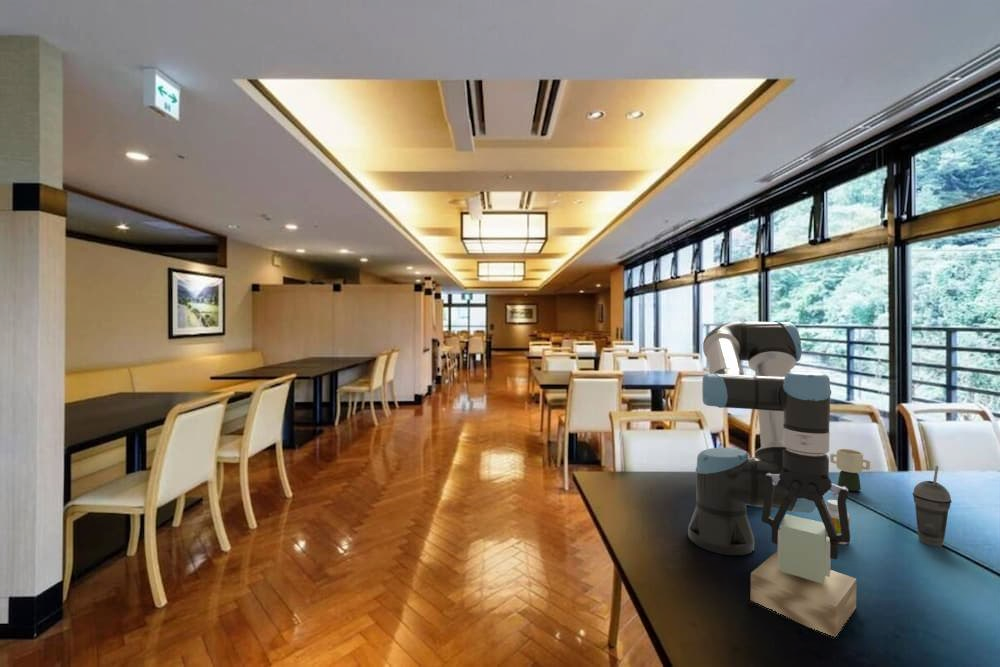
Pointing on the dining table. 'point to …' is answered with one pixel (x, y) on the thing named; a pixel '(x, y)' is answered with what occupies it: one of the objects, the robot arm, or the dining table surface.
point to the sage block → (803, 548)
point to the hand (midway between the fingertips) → (803, 566)
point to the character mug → (849, 467)
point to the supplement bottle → (835, 515)
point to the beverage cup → (931, 511)
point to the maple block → (805, 596)
